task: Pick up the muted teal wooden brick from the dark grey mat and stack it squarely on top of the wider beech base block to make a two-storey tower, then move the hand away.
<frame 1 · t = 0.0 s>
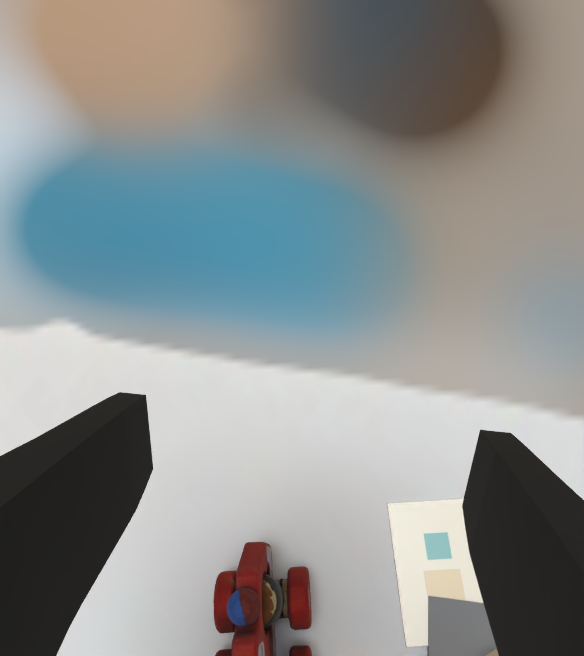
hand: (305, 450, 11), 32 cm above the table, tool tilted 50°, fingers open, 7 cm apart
instruction card: (440, 568, 38), on the table
toy fire truck: (266, 632, 37), on the table
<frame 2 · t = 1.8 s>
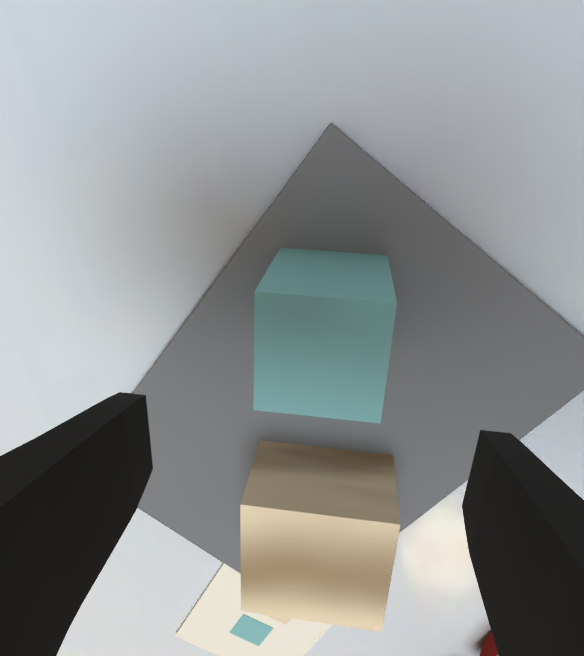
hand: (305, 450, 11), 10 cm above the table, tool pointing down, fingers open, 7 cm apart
base block: (321, 498, 23), resting on mat
instruction card: (263, 611, 27), on the table
teal brick: (329, 301, 19), resting on mat
mat: (311, 418, 22), on the table
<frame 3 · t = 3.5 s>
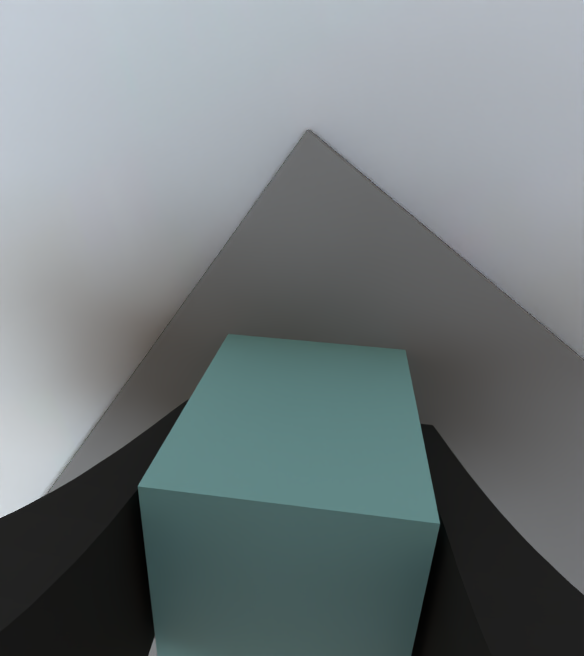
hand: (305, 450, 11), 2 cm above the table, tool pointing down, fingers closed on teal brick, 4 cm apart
teal brick: (310, 416, 12), resting on mat, touching gripper
mat: (287, 570, 14), on the table
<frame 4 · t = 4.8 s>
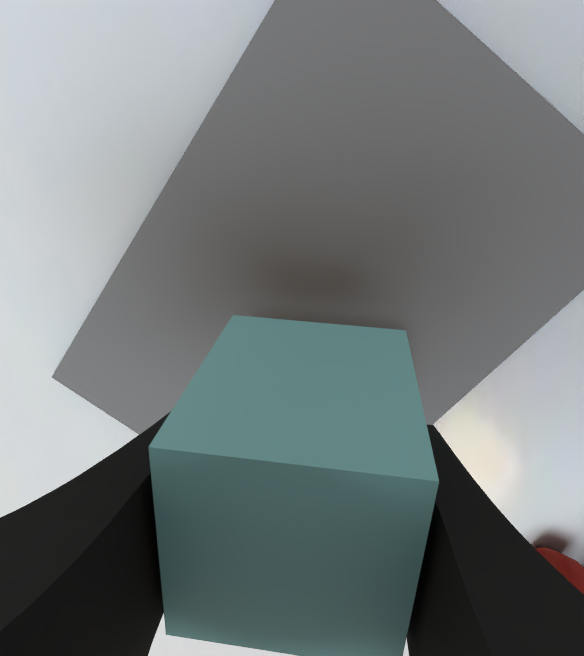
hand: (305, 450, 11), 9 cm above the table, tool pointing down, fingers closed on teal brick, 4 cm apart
teal brick: (312, 396, 12), point 7 cm above the table, touching gripper
toy fire truck: (539, 610, 24), on the table
mat: (313, 303, 19), on the table
when the fingers open (7 cm above the table, at t = 6.3 s): teal brick stays where it is, resting on base block.
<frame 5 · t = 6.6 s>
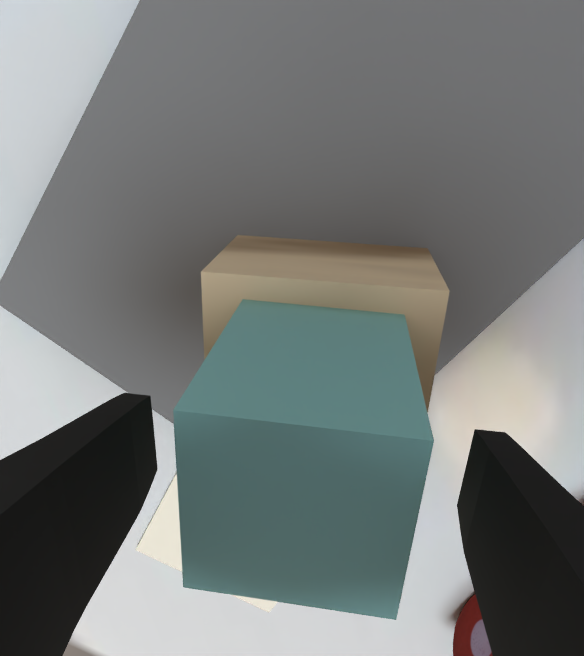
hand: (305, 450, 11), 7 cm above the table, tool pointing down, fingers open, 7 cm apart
base block: (324, 328, 17), resting on mat, touching teal brick
instruction card: (248, 511, 21), on the table
teal brick: (316, 377, 13), point 4 cm above the table, touching base block
toy fire truck: (572, 591, 21), on the table
mat: (310, 200, 15), on the table
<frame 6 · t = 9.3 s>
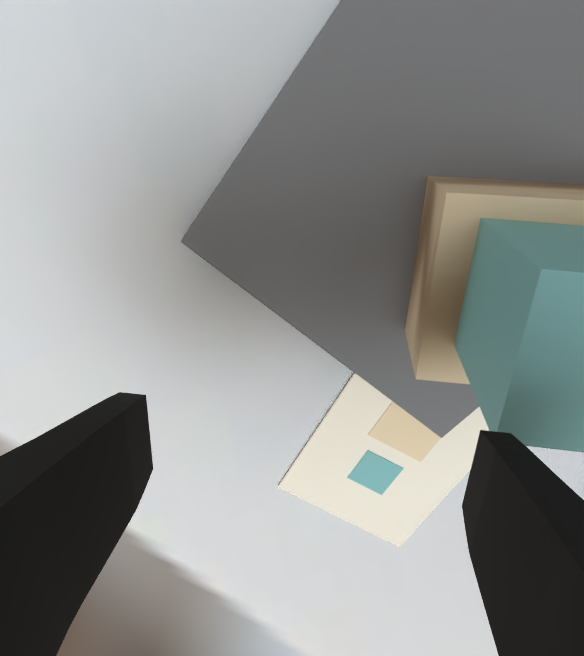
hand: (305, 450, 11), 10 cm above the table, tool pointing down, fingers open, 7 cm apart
base block: (497, 264, 18), resting on mat, touching teal brick
instruction card: (393, 447, 22), on the table
teal brick: (535, 290, 14), point 4 cm above the table, touching base block
mat: (498, 143, 17), on the table
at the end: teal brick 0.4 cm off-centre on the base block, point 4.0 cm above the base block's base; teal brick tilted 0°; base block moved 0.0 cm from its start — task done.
